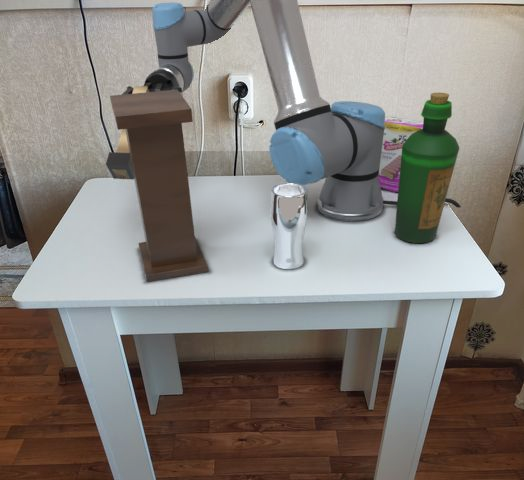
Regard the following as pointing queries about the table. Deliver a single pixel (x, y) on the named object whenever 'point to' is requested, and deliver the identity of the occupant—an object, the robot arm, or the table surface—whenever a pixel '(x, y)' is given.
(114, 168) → the long wooden bar
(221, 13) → the robot arm
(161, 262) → the wooden pedestal stand
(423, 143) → the bottle
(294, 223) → the beer glass
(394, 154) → the candy bar box
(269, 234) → the table surface
